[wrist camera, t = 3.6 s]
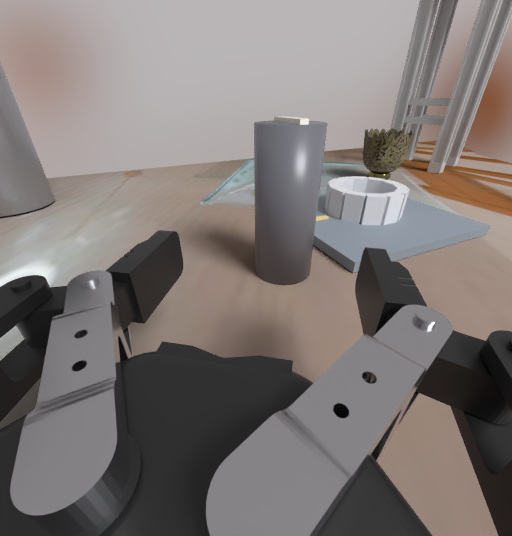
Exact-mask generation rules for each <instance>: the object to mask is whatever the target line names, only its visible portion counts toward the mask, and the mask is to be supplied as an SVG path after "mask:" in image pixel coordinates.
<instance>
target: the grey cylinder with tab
mask: <svg viewBox="0 0 512 536" xmlns="http://www.w3.org/2000/svg"><path fill="white" fill-rule="evenodd" d="M326 130H327V123H326V122H318V121H309V119H306V118H296V117H285V116H276V117H275V119H274V121H262V122H255V123H254V146H255V149H254V151H255V152H254V153H255V271H256V273H257V275H258V276H259V277H260V278H261V279H263V280H265V281H267V282H270V283H273V284H279V285H290V284H296V283H299V282H301V281H303V280H305V279H306V278H307V277H308V276H309V273H310V266H311V258H312V249H313V241H314V232H315V224H316V215H317V207H318V198H319V190H320V181H321V173H322V164H323V156H324V147H325V138H326Z"/></svg>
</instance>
